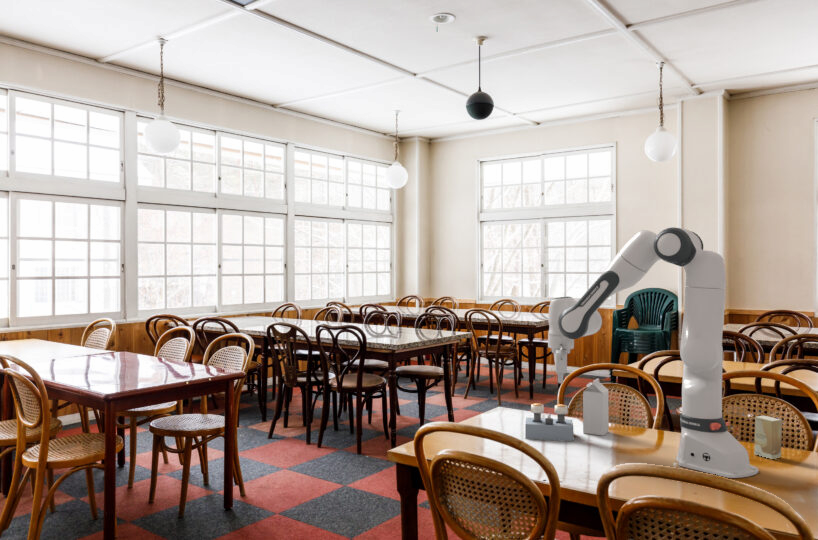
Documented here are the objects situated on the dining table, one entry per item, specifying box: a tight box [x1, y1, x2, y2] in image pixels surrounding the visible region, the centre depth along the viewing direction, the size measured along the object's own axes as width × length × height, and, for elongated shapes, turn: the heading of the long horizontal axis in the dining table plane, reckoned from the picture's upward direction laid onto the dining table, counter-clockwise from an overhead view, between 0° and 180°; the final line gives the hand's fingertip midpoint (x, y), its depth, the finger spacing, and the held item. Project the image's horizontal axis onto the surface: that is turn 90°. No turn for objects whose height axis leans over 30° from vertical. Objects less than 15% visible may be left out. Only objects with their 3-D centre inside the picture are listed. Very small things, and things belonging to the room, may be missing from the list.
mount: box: [524, 417, 574, 442], centre depth 221 cm, size 16×10×5 cm, turn 78°
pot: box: [544, 413, 554, 425], centre depth 218 cm, size 3×3×3 cm
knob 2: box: [554, 403, 568, 424], centre depth 220 cm, size 4×4×8 cm
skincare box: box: [754, 415, 783, 460], centre depth 197 cm, size 6×4×12 cm
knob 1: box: [530, 402, 545, 423], centre depth 222 cm, size 4×4×8 cm
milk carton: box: [582, 377, 609, 437], centre depth 226 cm, size 7×7×19 cm
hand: (560, 382), depth 221 cm, fingers closed
